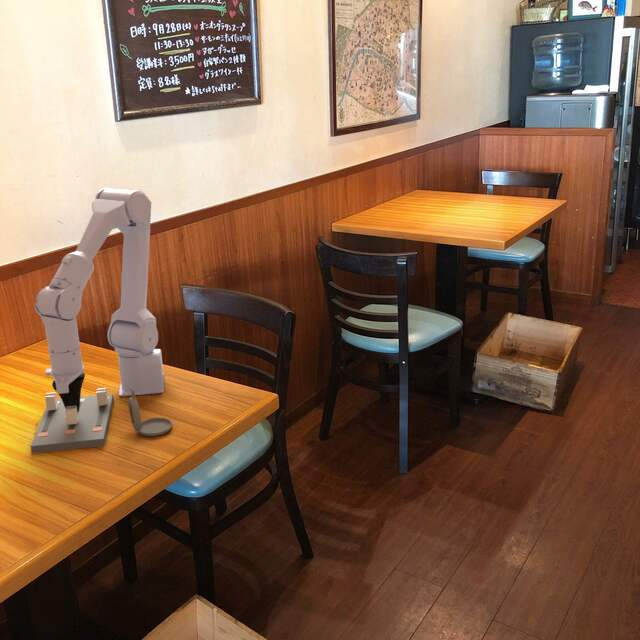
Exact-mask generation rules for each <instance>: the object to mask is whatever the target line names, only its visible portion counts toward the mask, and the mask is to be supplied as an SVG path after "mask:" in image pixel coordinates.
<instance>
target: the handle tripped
mask: <svg viewBox="0 0 640 640" xmlns="http://www.w3.org/2000/svg"><path fill="white" fill-rule="evenodd" d="M65 412H66V419H67V425H70V424H77V422H78V413H77V406H67V407H66V410H65Z"/></svg>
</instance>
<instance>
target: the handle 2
mask: <svg viewBox="0 0 640 640" xmlns="http://www.w3.org/2000/svg"><path fill="white" fill-rule="evenodd" d="M95 393H96V395H97V401H98V406H102V405H107V403H108V396H107V394H108V390H107V387H101V388H100V387H99V388H97V389H96V392H95Z"/></svg>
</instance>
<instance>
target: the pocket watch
mask: <svg viewBox="0 0 640 640" xmlns="http://www.w3.org/2000/svg"><path fill="white" fill-rule="evenodd" d="M130 390H131V392H132V393H131V395H132V397H129V399H128V409H129V410H128V411H129V416H130V420H131V424H132V427H133V430H134V432H138V433H139V434H141V435H142V436H146V437H147V436H148V437H156V436H160V435H161V436H162V435H164V434H166V433H168V432H169V431H170V430H171V429H172V427H173V422H172V420H171V419H170V418H166V417H151V418H148V419H145V420H142V416H141V415H142V414H141V411H140V406H139V403H138V400H137V399H136V395H135V392H134V391H132V389H131V387H130Z"/></svg>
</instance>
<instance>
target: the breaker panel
mask: <svg viewBox="0 0 640 640" xmlns="http://www.w3.org/2000/svg"><path fill="white" fill-rule="evenodd" d="M107 396H108V403H107V405H102V406H98V401H97V394H96V395H84V396H80V408H79V412H77V413H78V422H77V424H70V425H67V419H66V412H65V410H66V409H65V406H64V404H63V401H62V399H61V398H57V402H58V407H57V409H56V410H48V411H47V407H46V406H45V410H44V412H43V414H42V417H41V419H40V422H39V424H38V427H37V429H36V431H35V434H34V437H33V439H32V442H31V443H30V451H31V454H37V452H39V453H48V452H55V451H56V450H58V451H66V450H76V449H84V448H85V449H86V448H94V447H95V448H96V447H104V446H105V444H106V440H107V435H108V430H109V425H110V420H111V415H112V410H113V405H114V400H115V399H114V394H113V393H107Z"/></svg>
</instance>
